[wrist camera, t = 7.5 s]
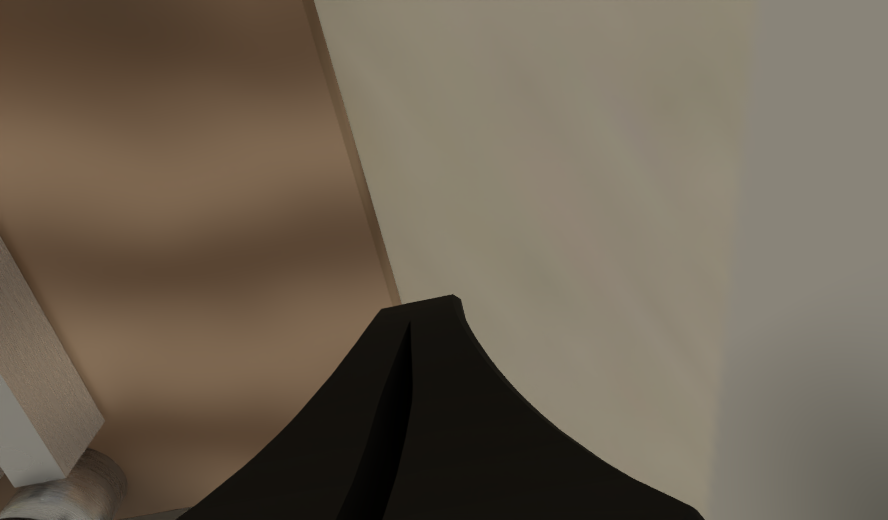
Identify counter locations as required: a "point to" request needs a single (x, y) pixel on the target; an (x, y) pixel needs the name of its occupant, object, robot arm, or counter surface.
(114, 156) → the walnut board
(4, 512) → the tongs fixed arm
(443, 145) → the counter surface
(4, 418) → the tongs swing arm
